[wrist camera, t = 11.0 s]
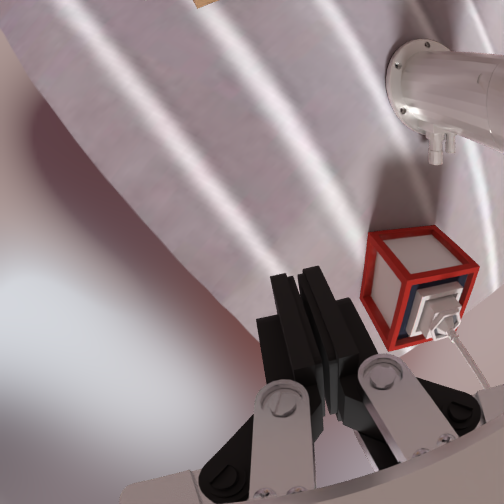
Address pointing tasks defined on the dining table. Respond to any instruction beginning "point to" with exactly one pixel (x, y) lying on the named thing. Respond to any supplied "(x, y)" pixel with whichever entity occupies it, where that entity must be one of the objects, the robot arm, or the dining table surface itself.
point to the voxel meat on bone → (202, 2)
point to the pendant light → (417, 287)
